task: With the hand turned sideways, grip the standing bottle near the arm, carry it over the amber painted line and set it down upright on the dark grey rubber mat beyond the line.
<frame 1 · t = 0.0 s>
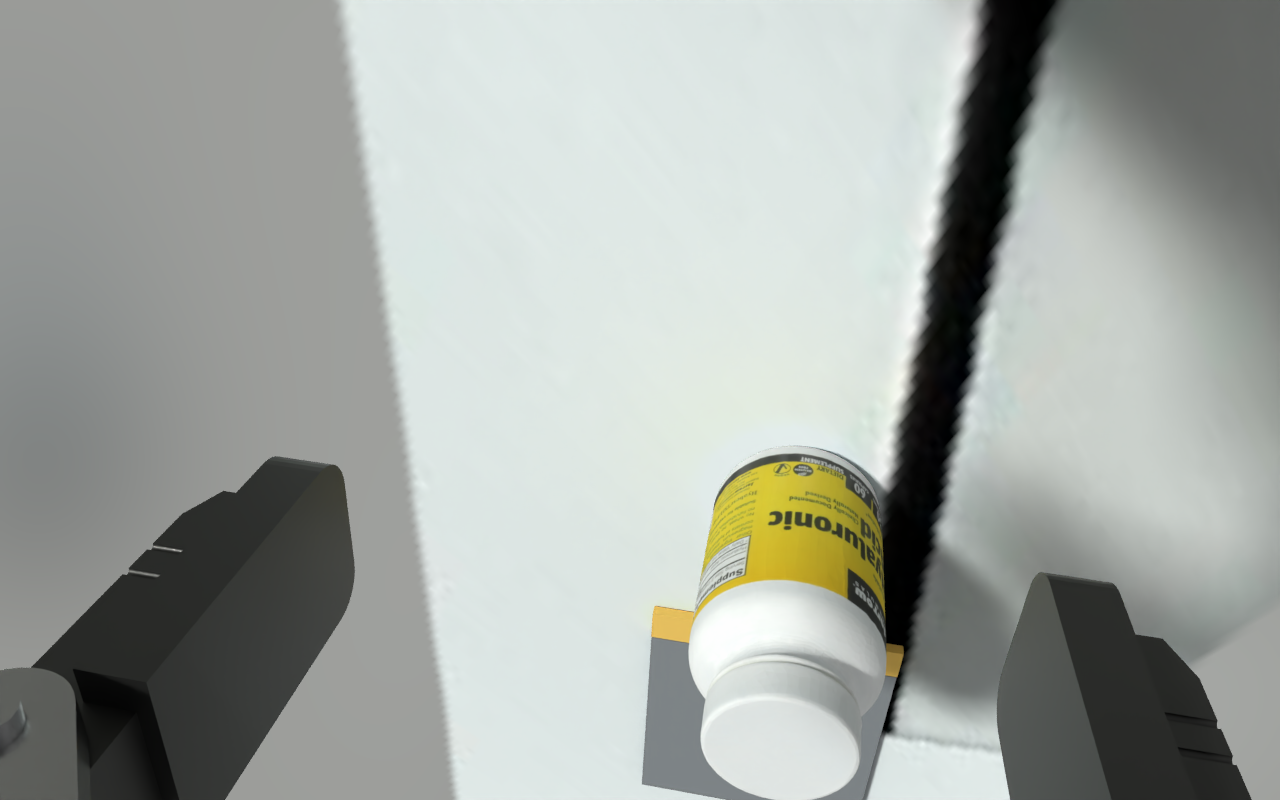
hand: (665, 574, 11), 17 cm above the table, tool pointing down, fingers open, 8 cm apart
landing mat: (759, 729, 39), on the table
supplement bottle: (797, 501, 32), on the table
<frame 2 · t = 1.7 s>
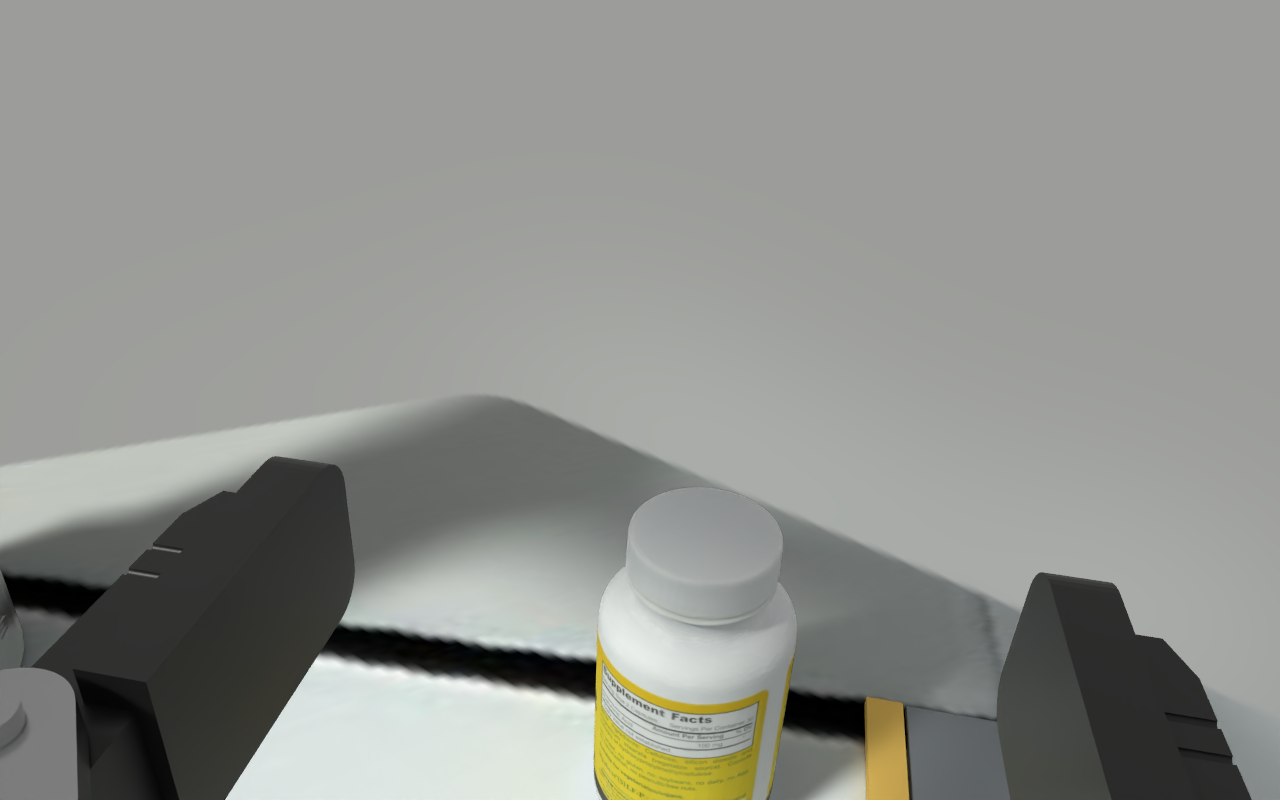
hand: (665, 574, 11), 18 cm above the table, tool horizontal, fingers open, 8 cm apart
supplement bottle: (679, 788, 30), on the table
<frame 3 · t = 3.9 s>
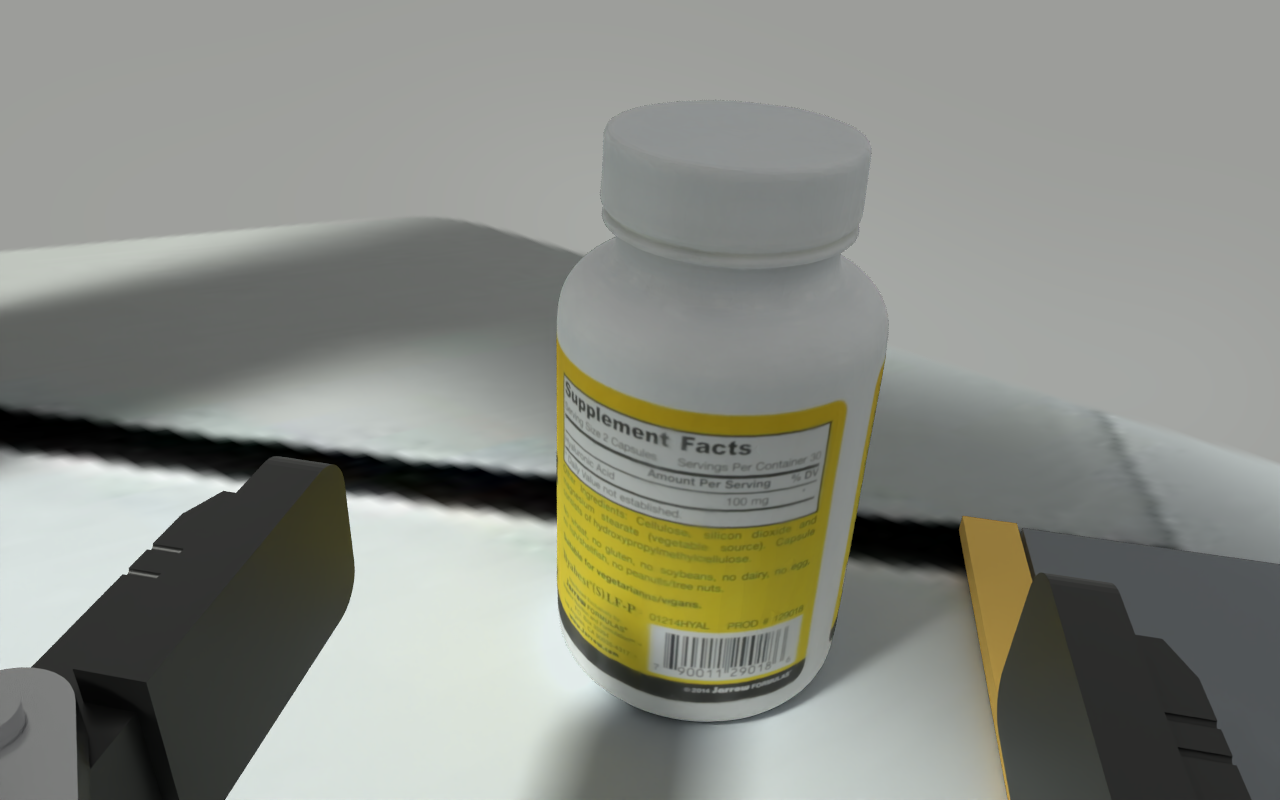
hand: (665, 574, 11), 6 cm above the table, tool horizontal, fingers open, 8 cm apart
supplement bottle: (690, 632, 19), on the table
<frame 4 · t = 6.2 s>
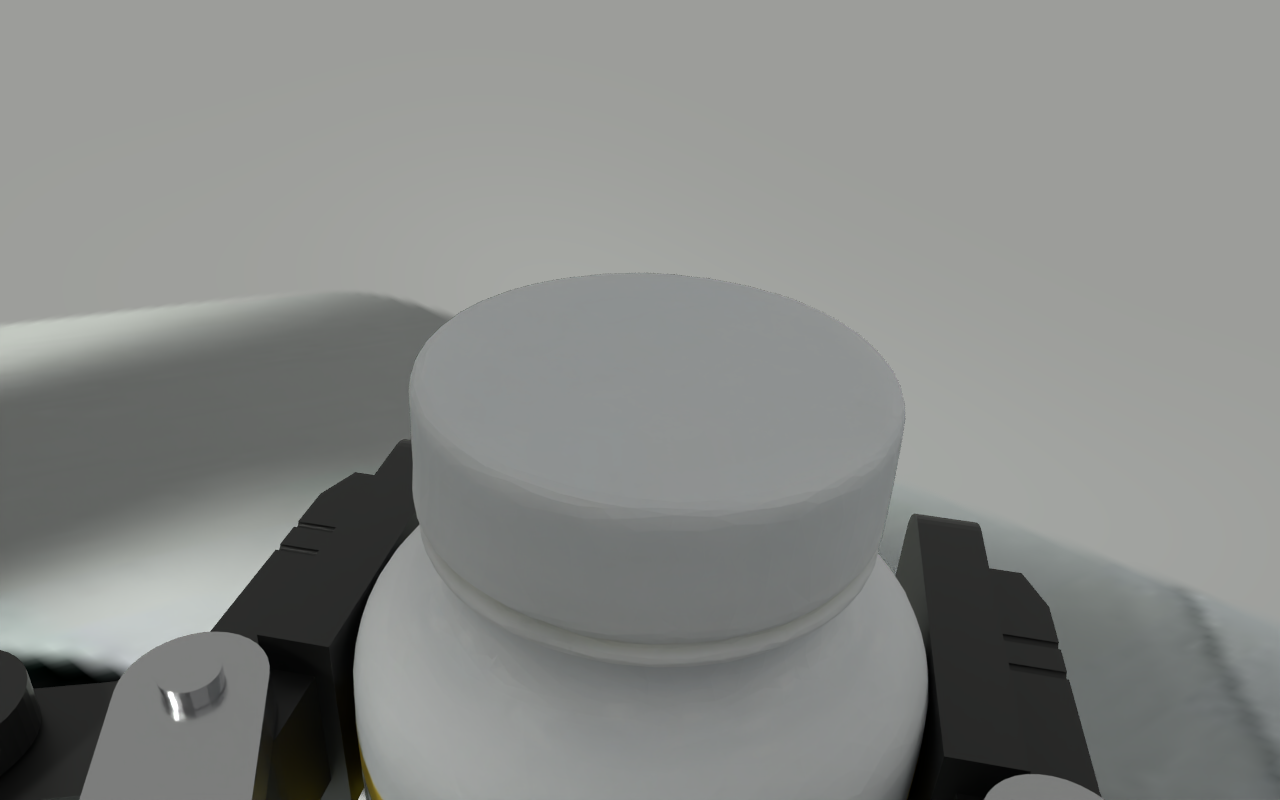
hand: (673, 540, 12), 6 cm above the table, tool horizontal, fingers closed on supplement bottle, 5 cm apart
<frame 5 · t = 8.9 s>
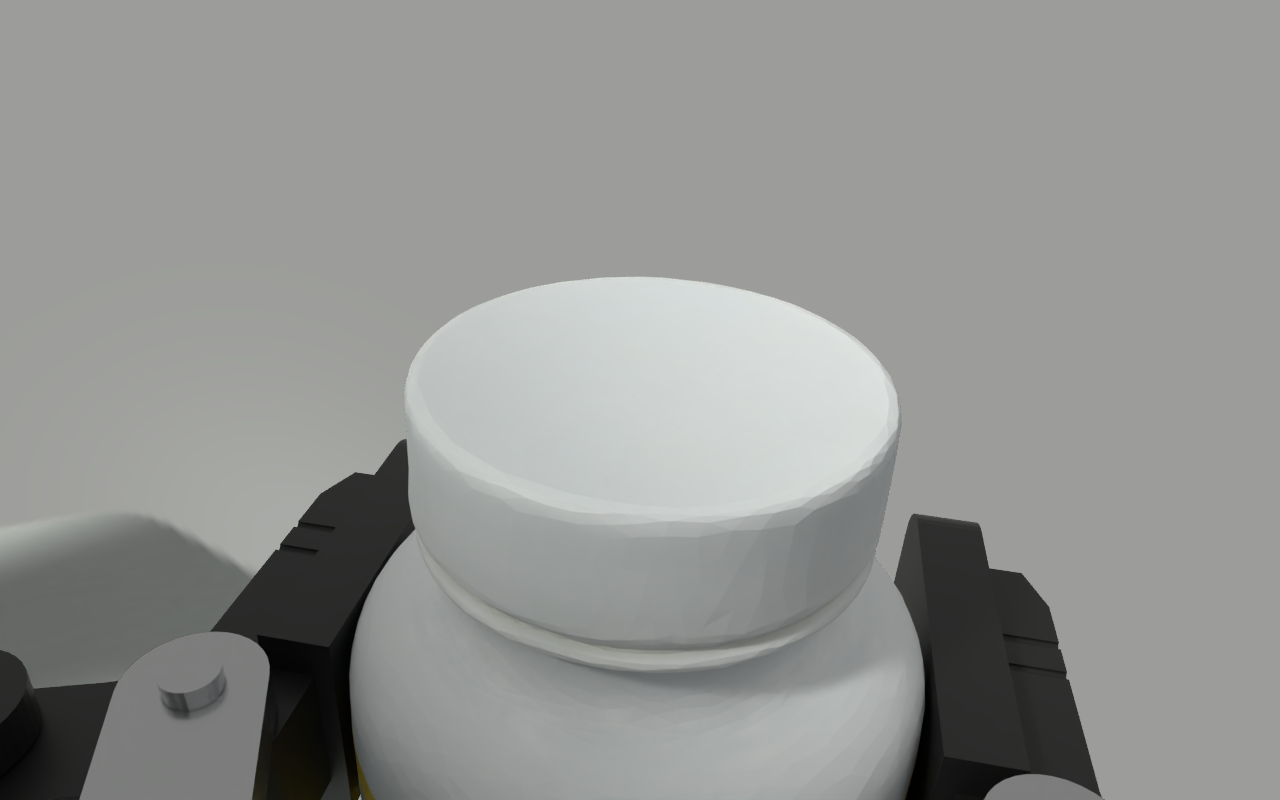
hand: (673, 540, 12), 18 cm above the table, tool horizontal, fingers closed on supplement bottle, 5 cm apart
when the fingers open (7 cm above the table, at t = 11.9 s): supplement bottle stays where it is, resting on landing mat.
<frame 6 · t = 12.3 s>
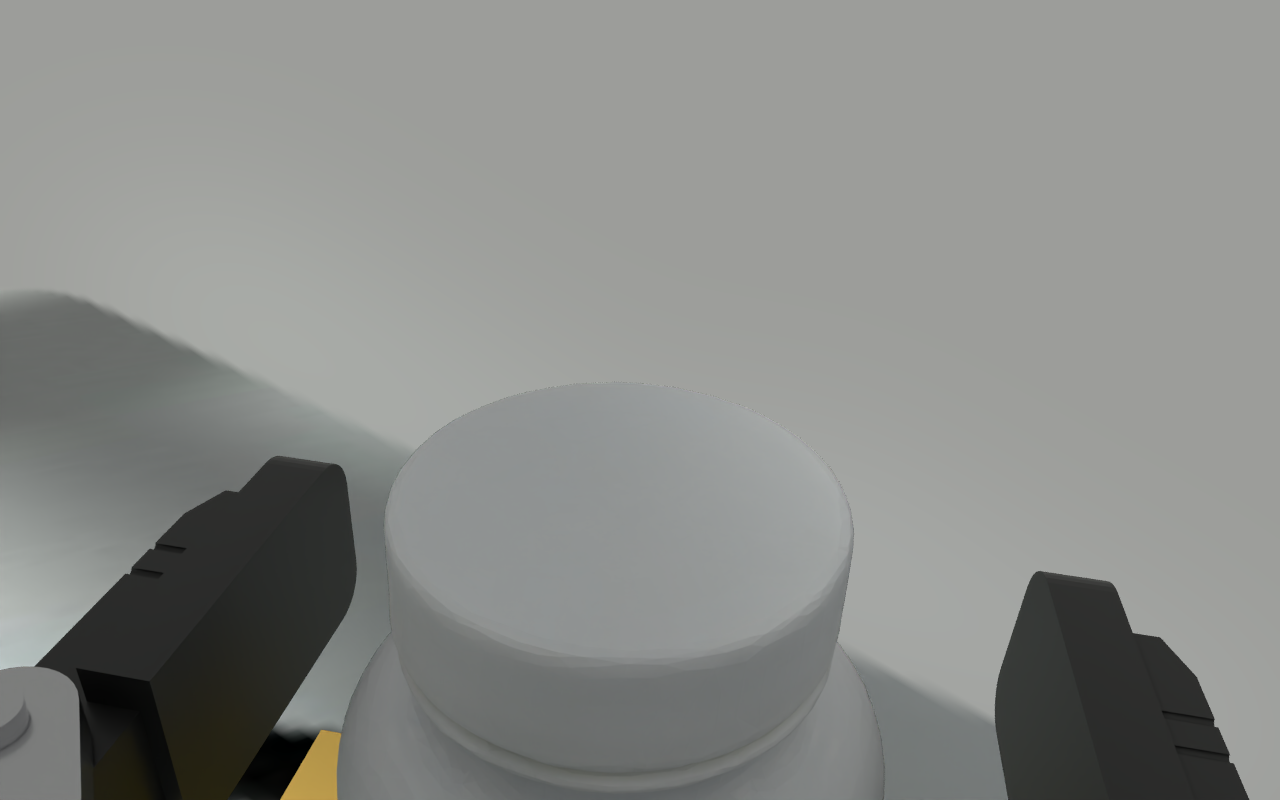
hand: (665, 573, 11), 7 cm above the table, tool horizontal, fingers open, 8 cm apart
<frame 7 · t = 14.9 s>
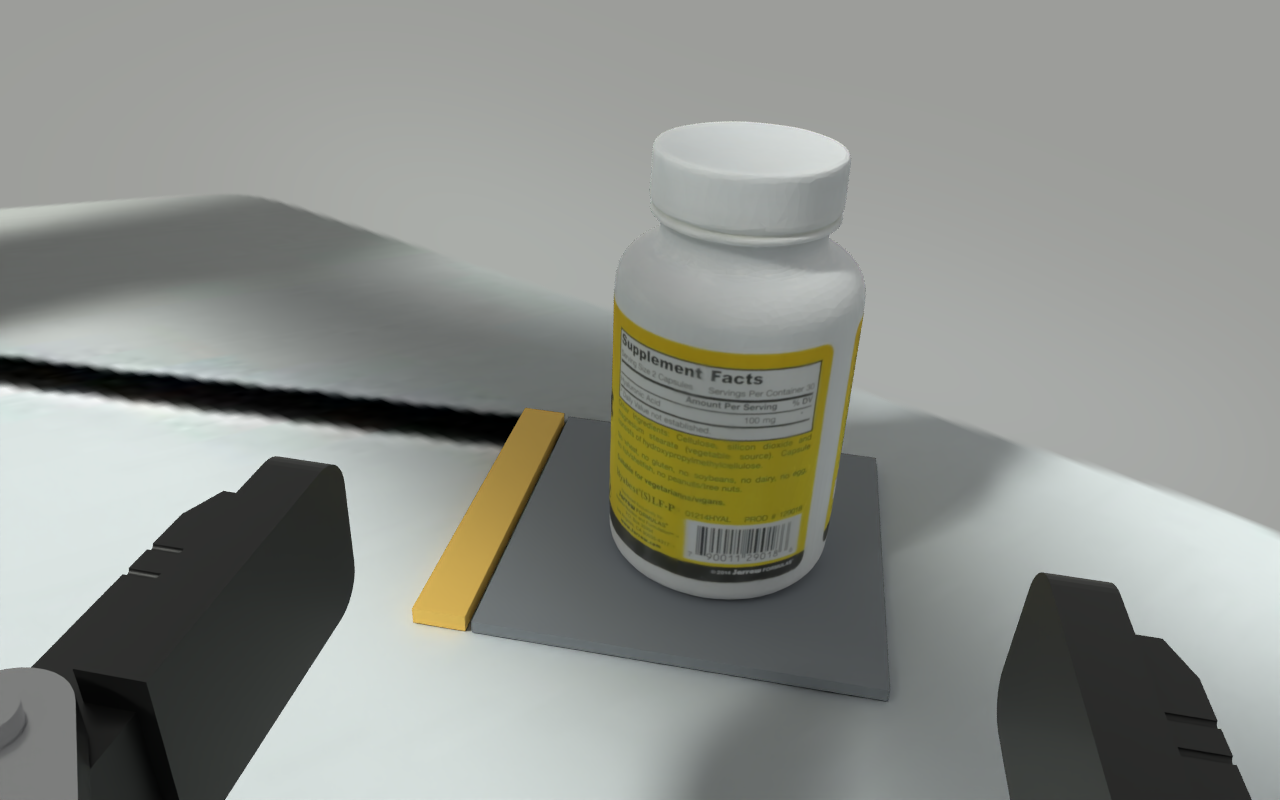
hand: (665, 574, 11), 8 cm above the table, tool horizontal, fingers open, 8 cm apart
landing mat: (699, 538, 25), on the table
supplement bottle: (713, 541, 25), resting on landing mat
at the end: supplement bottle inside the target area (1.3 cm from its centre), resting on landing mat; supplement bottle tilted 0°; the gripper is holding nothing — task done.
